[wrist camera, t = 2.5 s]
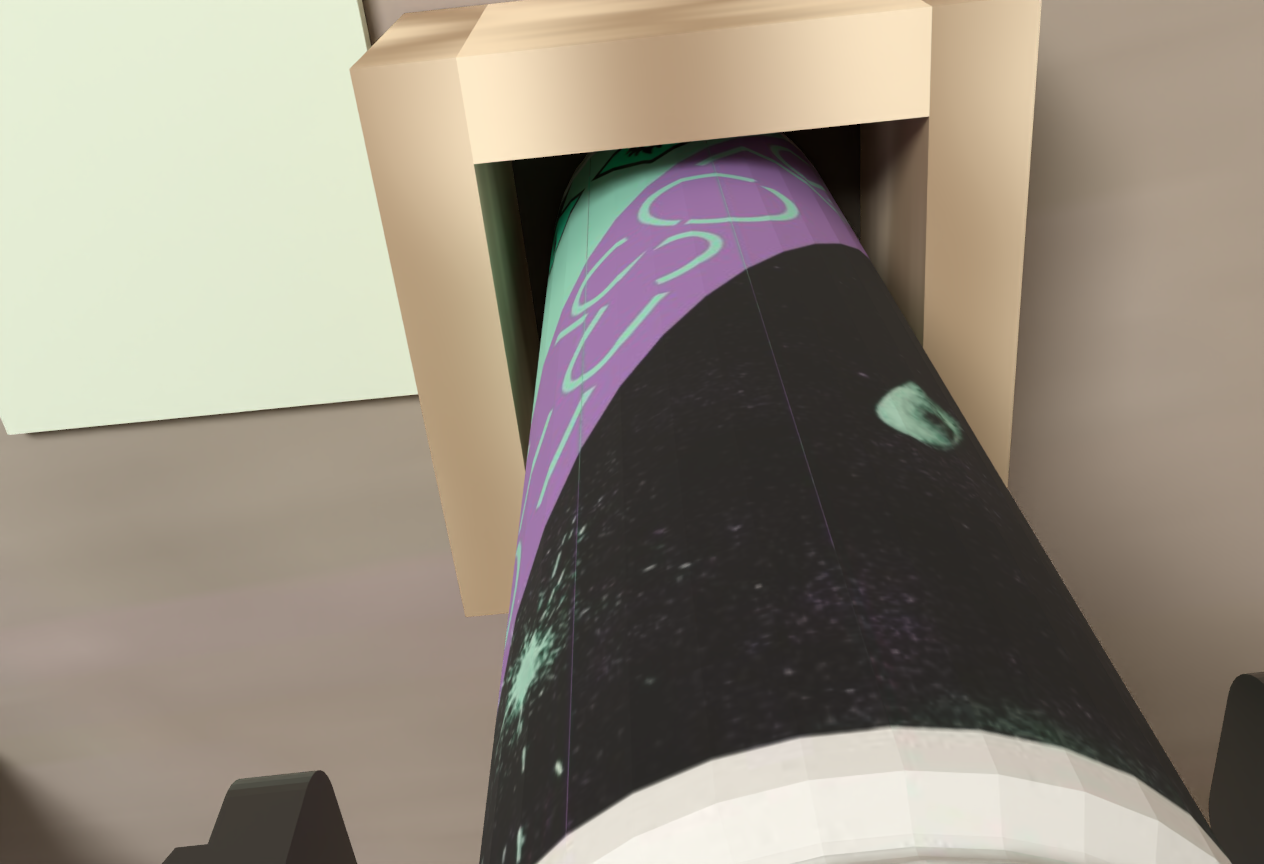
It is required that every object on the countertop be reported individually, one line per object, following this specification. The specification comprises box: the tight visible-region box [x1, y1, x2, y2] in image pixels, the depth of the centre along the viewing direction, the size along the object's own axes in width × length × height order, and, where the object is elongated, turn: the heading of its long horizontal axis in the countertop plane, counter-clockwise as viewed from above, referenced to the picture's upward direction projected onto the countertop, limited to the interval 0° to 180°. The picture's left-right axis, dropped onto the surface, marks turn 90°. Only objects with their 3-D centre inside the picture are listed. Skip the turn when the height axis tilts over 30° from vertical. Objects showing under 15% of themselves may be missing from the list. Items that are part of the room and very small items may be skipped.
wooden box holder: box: [349, 0, 1042, 617], centre depth 20 cm, size 10×10×5 cm
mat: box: [0, 0, 418, 435], centre depth 22 cm, size 9×9×1 cm
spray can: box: [479, 132, 1231, 864], centre depth 14 cm, size 6×6×20 cm
